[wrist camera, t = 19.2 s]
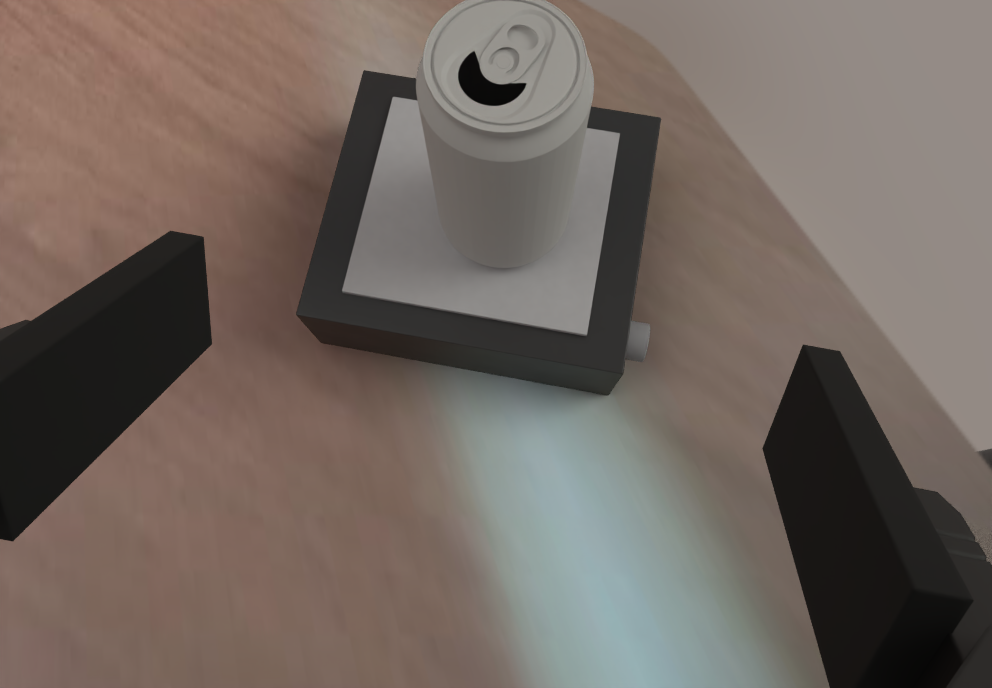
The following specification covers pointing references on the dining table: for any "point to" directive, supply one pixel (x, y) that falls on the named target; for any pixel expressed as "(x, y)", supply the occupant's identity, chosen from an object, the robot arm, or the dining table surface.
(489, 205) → the beverage can
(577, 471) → the dining table surface
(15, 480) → the robot arm
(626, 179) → the cup warmer
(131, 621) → the dining table surface
